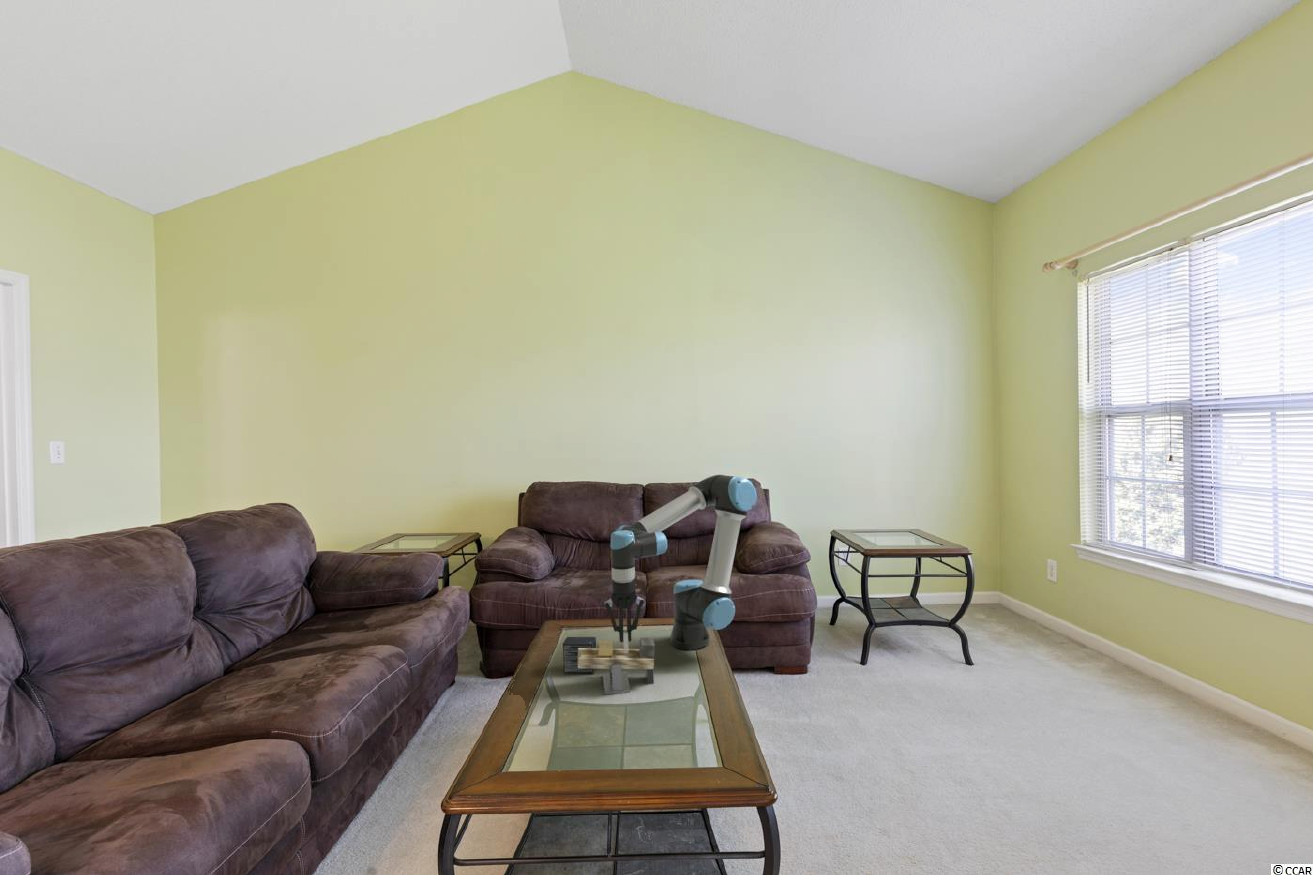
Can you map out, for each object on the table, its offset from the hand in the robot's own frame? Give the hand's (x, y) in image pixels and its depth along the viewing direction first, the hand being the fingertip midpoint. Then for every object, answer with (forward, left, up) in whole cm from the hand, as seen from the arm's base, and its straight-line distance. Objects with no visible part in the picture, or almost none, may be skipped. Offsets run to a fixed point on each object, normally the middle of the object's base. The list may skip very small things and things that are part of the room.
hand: (625, 651), depth 178 cm
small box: (+15, -13, -11) cm, 22 cm away
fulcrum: (0, 0, -11) cm, 11 cm away
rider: (+7, 0, -2) cm, 7 cm away
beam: (+4, 0, -3) cm, 5 cm away
